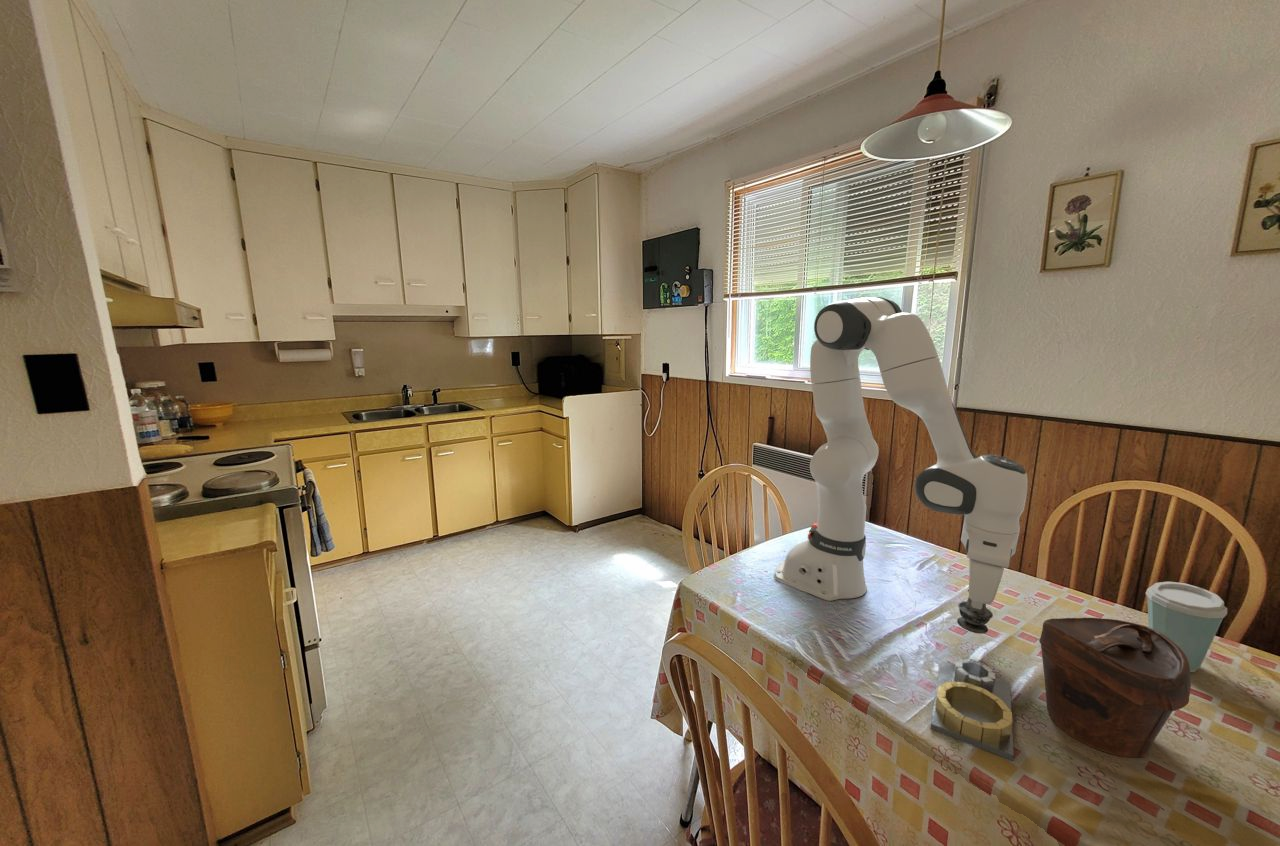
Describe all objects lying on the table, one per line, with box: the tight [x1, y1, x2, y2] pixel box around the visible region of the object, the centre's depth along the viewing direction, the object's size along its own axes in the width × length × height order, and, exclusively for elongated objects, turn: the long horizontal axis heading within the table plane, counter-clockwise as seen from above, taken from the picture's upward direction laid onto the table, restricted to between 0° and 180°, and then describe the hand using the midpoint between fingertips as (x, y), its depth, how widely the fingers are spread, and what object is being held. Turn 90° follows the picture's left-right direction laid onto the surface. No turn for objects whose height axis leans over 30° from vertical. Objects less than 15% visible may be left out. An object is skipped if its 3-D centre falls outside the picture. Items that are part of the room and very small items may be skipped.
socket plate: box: [930, 658, 1015, 762], centre depth 87 cm, size 11×19×4 cm, turn 145°
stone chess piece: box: [956, 588, 994, 635], centre depth 100 cm, size 6×6×12 cm
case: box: [1038, 617, 1192, 758], centre depth 81 cm, size 18×20×18 cm
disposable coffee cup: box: [1145, 581, 1228, 673], centre depth 96 cm, size 11×11×15 cm
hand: (976, 601), depth 100 cm, fingers closed on stone chess piece, 3 cm apart
